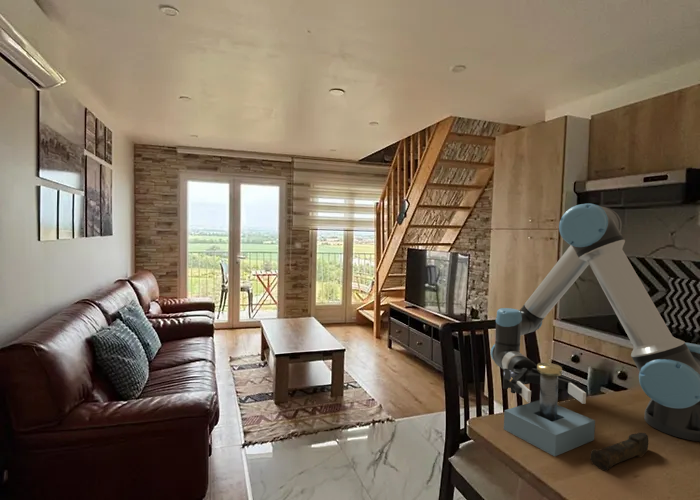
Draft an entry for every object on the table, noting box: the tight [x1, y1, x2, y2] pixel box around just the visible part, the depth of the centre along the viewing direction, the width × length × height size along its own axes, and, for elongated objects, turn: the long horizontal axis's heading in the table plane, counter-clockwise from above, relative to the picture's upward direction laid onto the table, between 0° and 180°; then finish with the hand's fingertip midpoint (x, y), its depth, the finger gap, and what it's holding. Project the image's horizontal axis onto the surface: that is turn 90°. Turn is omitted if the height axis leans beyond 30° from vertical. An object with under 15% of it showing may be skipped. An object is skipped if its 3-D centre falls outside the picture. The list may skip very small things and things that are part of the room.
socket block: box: [503, 399, 596, 457], centre depth 99 cm, size 14×16×5 cm
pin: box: [536, 362, 563, 422], centre depth 99 cm, size 6×6×16 cm
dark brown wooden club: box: [590, 432, 649, 471], centre depth 89 cm, size 19×4×5 cm, turn 113°
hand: (556, 397), depth 95 cm, fingers open, 13 cm apart
